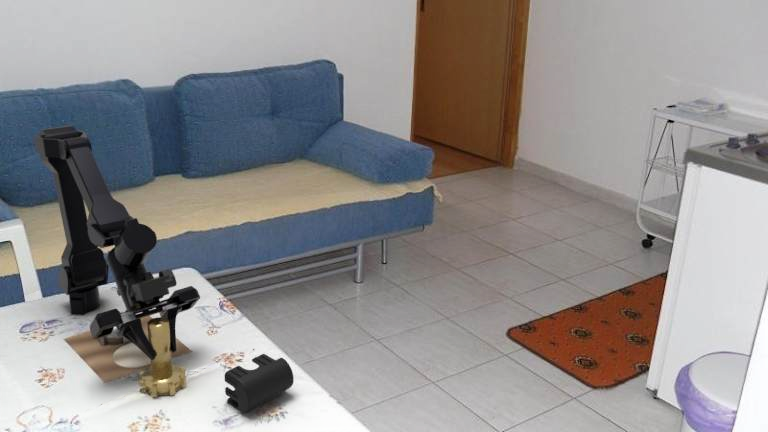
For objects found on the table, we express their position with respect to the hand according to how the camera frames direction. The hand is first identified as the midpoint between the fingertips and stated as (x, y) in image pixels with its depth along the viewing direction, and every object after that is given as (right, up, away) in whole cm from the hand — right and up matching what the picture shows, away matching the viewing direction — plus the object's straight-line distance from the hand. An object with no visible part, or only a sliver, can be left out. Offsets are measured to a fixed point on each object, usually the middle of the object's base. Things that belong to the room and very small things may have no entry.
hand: (164, 355), depth 133 cm
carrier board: (-11, -2, +14) cm, 17 cm away
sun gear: (-14, +1, +16) cm, 22 cm away
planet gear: (-1, -6, +3) cm, 7 cm away
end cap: (+17, -8, 0) cm, 18 cm away
